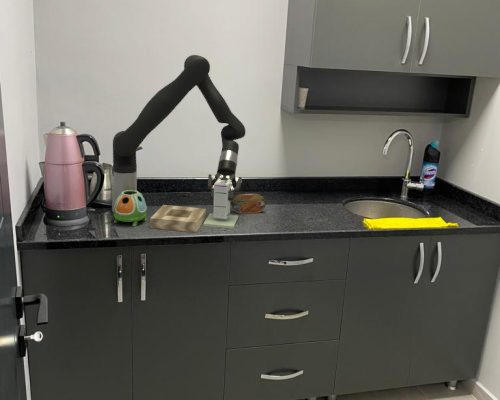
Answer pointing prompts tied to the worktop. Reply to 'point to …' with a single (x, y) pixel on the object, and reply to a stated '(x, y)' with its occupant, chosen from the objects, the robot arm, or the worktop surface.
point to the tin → (248, 203)
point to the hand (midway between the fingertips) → (221, 199)
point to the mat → (221, 221)
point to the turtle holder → (130, 207)
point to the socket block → (178, 218)
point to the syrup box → (222, 199)
